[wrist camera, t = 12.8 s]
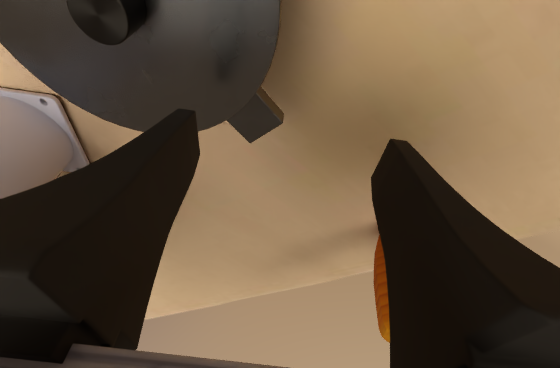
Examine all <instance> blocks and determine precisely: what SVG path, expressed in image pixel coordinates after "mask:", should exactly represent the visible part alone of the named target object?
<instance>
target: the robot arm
mask: <svg viewBox="0 0 560 368" xmlns="http://www.w3.org/2000/svg"><path fill="white" fill-rule="evenodd" d="M44 100H45V101H44ZM199 156H200V149H199V139H198V130H197V120H196V111H194V110H187V109H180V108H178V109H177V110H175V111H174V112H172V113H171V114H169V115H168V116H167V117H165V118H164V119H162V120H161V121H160V122H158V123H157V124H155V125H154V126H153V127H151V128H150V129H148V130H147V131H145V132H144V133H142V134H141V135H139V136H138V137H136V138H135V139H133V140H132V141H130V142H128V143H127V144H125V145H123V146H122V147H120V148H119V149H117V150H115V151H114V152H112V153H110V154H108V155H106V156H105V157H103V158H101V159H99V160H97V161H95V162H93V163H91V164H90V163H89V161H88V159H87V157H86V155H85V153H84V150H83V148H82V146H81V144H80V142H79V140H78V138H77V136H76V134H75V132H74V130H73V128H72V126H71V123H70V121H69V119H68V117H67V115H66V113H65V111H64V109H63V107H62V105H61V103H60V101H59V99H58V98H56V97H55V96H53V95H49V94H42V93H35V92H28V91H21V90H14V89H7V88H0V368H288V367H278V366H270V365H261V364H252V363H242V362H234V361H225V360H216V359H207V358H198V357H190V356H181V355H172V354H163V353H154V352H145V351H136V349H137V346H138V342H139V338H140V334H141V330H142V326H143V322H144V318H145V314H146V310H147V306H148V302H149V298H150V295H151V291H152V287H153V284H154V280H155V277H156V273H157V270H158V267H159V263H160V260H161V256H162V253H163V250H164V247H165V244H166V241H167V238H168V235H169V232H170V229H171V227H172V224H173V222H174V220H175V217H176V215H177V213H178V211H179V208H180V206H181V204H182V202H183V200H184V197H185V195H186V193H187V191H188V188H189V186H190V184H191V181H192V179H193V177H194V174H195V170H196V167H197V163H198V160H199ZM62 171H66V172H71V173H69V174H67V175H64V176H62V177H59V178H57V179H55V178H56V177H57V176H58V175H59V174H60V173H61V172H62ZM371 187H372V201H373V206H374V211H375V216H376V220H377V225H378V230H379V234H380V239H381V243H382V248H383V253H384V259H385V268H386V278H387V290H388V304H389V325H390V368H560V268H559V267H557V266H556V265H554V264H552V263H551V262H549V261H547V260H546V259H544V258H542V257H541V256H539V255H538V254H536V253H535V252H533V251H532V250H530V249H529V248H527V247H525V246H524V245H523V244H521V243H520V242H518V241H517V240H516V239H514V238H513V237H511V236H510V235H508V234H507V233H506V232H504V231H503V230H502V229H500V228H499V227H498V226H496V225H495V224H494V223H492V222H491V221H490V220H489V219H487V218H486V217H485V216H484V215H482V214H481V213H480V212H479V211H478V210H476V209H475V208H474V207H473V206H472V205H471V204H469V203H468V202H467V201H466V200H465V199H464V198H463V197H462V196H461V195H460V194H459V193H457V192H456V191H455V190H454V189H453V188H452V187H451V186H450V185H449V184H448V183H447V182H446V181H445V180H444V179H443V178H442V177H441V176H440V175H439V174H438V173H437V172H436V171H435V170H434V169H433V168H432V166H431V165H430V164H429V163H428V162H427V161H426V160H425V159H424V158H423V157H422V156H421V155H420V154H419V153H418V152H417V151H416V150H415V149H414V148H413V147H412V146H411V145H410V144H409V143H408V142H407V141H403V140H396V139H390V140H389V142H388V144H387V146H386V148H385V150H384V152H383V154H382V157H381V159H380V161H379V163H378V165H377V167H376V169H375V171H374V173H373V175H372V177H371Z"/></svg>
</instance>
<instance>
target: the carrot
mask: <svg viewBox="0 0 560 368" xmlns="http://www.w3.org/2000/svg"><path fill="white" fill-rule="evenodd" d="M374 291H375V301H376V310H377V318H378V325H379V330H380V333H381V335H382V337H383V338H384V339H385V340H386V341H387V342H389V343H390V325H389V304H388V290H387V278H386V268H385V259H384V253H383V248H382V243H381V239H380V235H379V238H378V242H377V246H376V251H375V259H374Z"/></svg>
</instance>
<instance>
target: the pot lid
mask: <svg viewBox="0 0 560 368" xmlns="http://www.w3.org/2000/svg"><path fill="white" fill-rule="evenodd" d="M281 2H282V0H0V43H1V44H2V45H3V46H4V47H5V48H6V49H7V50H8V51H9V52H10V53H11V54H12V55H13V56H14V57H15V58H16V59H17V60H18V61H19V62H20V63H21V64H22V65H23V66H24V67H25V68H27V69H28V70H29V71H30V72H31V73H32V74H33V75H34V76H35V77H37V78H38V79H39V80H41V81H42V82H43V83H44V84H46V85H47V86H48V87H49V88H51V89H52V90H53V91H55V92H56V93H58V94H59V95H61V96H62V97H64V98H65V99H67V100H68V101H70V102H71V103H73V104H75V105H77V106H78V107H80V108H82V109H84V110H85V111H87V112H89V113H91V114H93V115H95V116H97V117H100V118H102V119H104V120H106V121H109V122H112V123H114V124H117V125H119V126H123V127H126V128H130V129H133V130H137V131H142V132H145V131H147V130H148V129H150V128H151V127H153V126H154V125H155V124H157V123H158V122H160V121H161V120H162V119H164V118H165V117H167V116H168V115H169V114H171V113H172V112H174V111H175V110H177V109H178V108H180V109H187V110H194V111H196V120H197V130H198V131H201V130H205V129H208V128H211V127H213V126H216V125H218V124H220V123H222V122H224V121H225V120H227V119H229V118H230V117H232V116H234V115H235V114H236V113H237V112H238V111H240V110H241V109H242V108H243V107H244V106H245V105H246V104H247V103H248V102H249V101H250V100H251V98H252V97H253V96H254V95H255V93H256V92H257V90H258V89H259V87H260V86H261V84H262V83H263V81H264V79H265V77H266V75H267V72H268V70H269V68H270V66H271V63H272V59H273V56H274V53H275V50H276V46H277V40H278V35H279V29H280V22H281Z"/></svg>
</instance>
